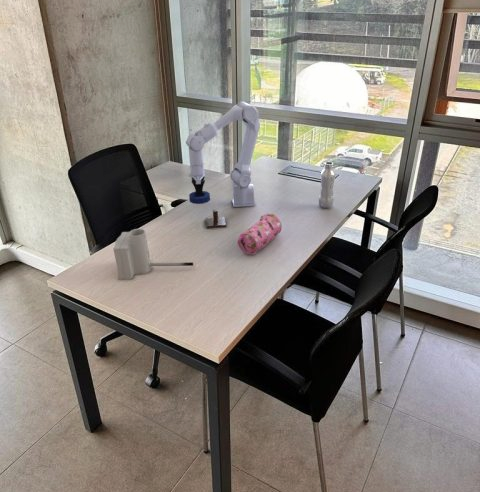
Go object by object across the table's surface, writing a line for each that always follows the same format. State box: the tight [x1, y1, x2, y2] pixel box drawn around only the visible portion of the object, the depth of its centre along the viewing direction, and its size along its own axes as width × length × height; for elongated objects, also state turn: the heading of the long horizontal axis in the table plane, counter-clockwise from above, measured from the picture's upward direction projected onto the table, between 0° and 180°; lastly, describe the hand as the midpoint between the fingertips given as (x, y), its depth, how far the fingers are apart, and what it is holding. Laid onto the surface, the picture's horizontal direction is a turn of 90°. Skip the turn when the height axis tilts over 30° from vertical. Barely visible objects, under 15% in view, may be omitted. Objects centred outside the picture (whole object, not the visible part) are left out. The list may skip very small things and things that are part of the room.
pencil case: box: [237, 213, 283, 256], centre depth 174 cm, size 21×9×9 cm, turn 150°
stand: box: [205, 209, 227, 229], centre depth 191 cm, size 8×8×6 cm
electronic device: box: [113, 228, 194, 280], centre depth 158 cm, size 12×26×15 cm, turn 88°
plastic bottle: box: [318, 161, 336, 209], centre depth 199 cm, size 6×7×20 cm
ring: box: [188, 190, 211, 205], centre depth 196 cm, size 9×9×2 cm
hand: (199, 193), depth 199 cm, fingers closed on ring, 2 cm apart
